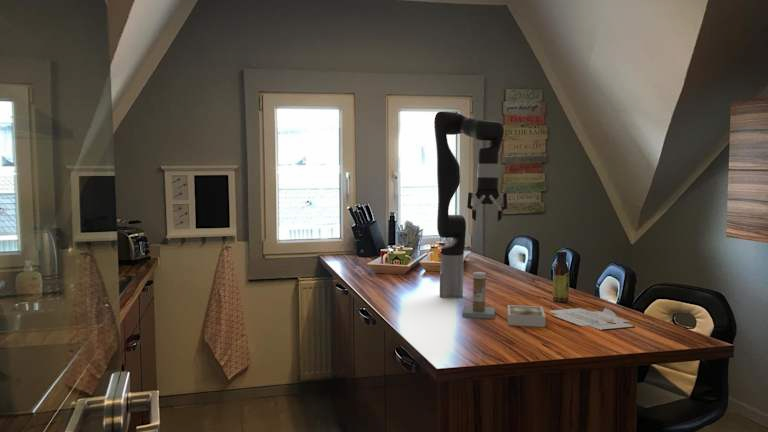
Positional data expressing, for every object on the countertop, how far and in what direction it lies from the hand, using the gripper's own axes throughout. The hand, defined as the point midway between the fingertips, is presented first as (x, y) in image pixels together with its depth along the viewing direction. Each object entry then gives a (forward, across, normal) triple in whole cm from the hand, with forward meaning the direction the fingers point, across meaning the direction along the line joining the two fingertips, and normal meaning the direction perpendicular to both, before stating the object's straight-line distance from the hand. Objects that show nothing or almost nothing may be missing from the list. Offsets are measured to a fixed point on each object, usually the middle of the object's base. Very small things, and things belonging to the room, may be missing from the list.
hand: (486, 220), depth 221 cm
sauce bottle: (+33, +29, +22) cm, 49 cm away
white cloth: (+34, +36, -6) cm, 50 cm away
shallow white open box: (+33, +14, -14) cm, 38 cm away
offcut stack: (+33, +14, -18) cm, 40 cm away
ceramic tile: (+33, -2, -8) cm, 34 cm away
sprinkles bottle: (+32, -2, -8) cm, 33 cm away
